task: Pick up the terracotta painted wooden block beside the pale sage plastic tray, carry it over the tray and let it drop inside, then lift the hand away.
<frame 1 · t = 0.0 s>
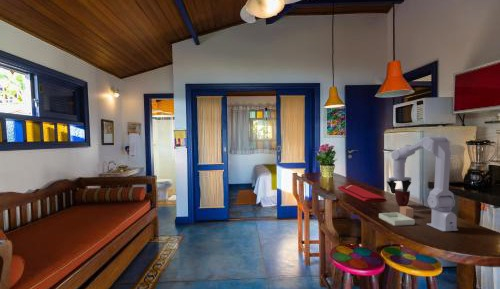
hand: (398, 193, 149), 10 cm above the table, tool pointing down, fingers open, 7 cm apart
block: (406, 216, 138), on the table
tray: (396, 221, 130), on the table
mug: (403, 206, 156), on the table
dish drying mat: (359, 195, 189), on the table
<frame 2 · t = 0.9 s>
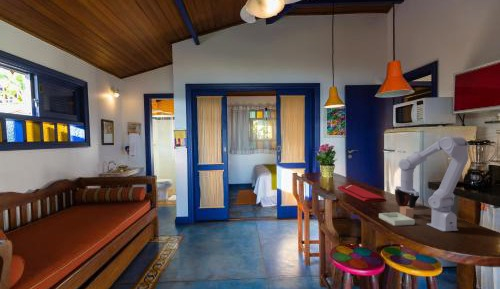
hand: (406, 205, 137), 6 cm above the table, tool pointing down, fingers open, 7 cm apart
nothing on the table moved.
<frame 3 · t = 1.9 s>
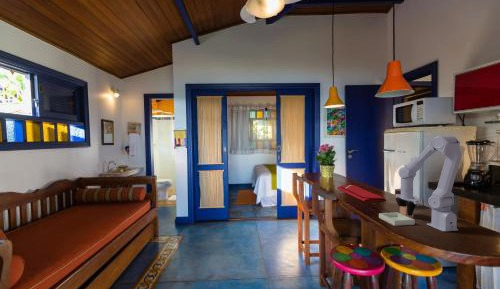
hand: (406, 213, 138), 1 cm above the table, tool pointing down, fingers closed on block, 4 cm apart
block: (406, 216, 138), on the table, touching gripper
everything else where it was.
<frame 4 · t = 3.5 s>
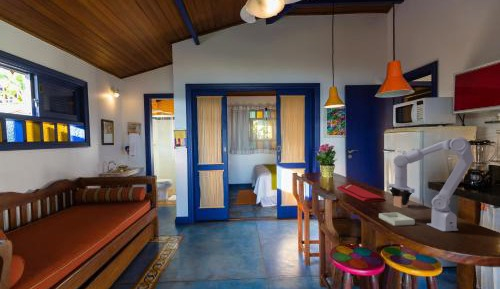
hand: (400, 203, 133), 8 cm above the table, tool pointing down, fingers closed on block, 4 cm apart
block: (400, 206, 133), point 7 cm above the table, touching gripper
everything else where it was.
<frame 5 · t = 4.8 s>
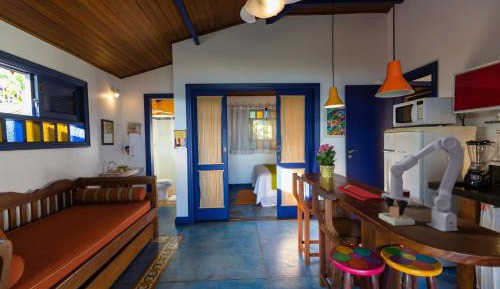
hand: (396, 213, 130), 4 cm above the table, tool pointing down, fingers closed on block, 4 cm apart
block: (396, 216, 130), point 2 cm above the table, touching gripper
everything else where it was.
when the fingers open (4 cm above the table, at t = 5.5 s): block drops 2 cm, resting on tray.
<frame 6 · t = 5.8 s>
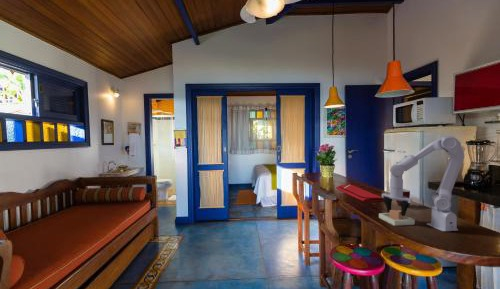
hand: (396, 213, 130), 4 cm above the table, tool pointing down, fingers open, 7 cm apart
block: (396, 220, 130), point 1 cm above the table, touching tray
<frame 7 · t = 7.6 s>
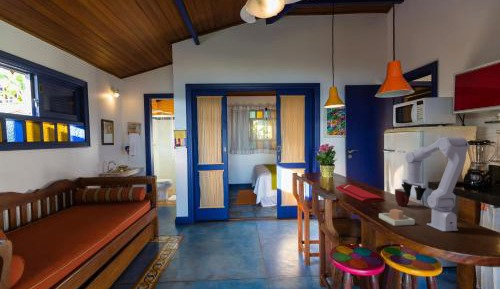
hand: (413, 198, 139), 9 cm above the table, tool pointing down, fingers open, 7 cm apart
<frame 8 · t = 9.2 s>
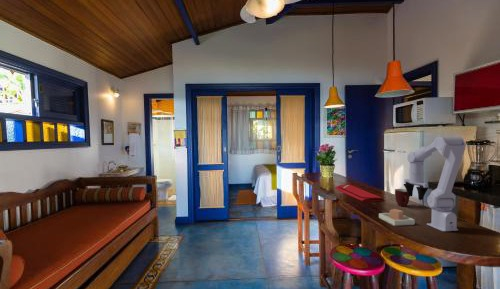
hand: (415, 197, 140), 9 cm above the table, tool pointing down, fingers open, 7 cm apart
at the end: block inside the target area on the tray (0.1 cm from its centre), point 0.6 cm above the tray's base; the gripper is holding nothing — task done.
